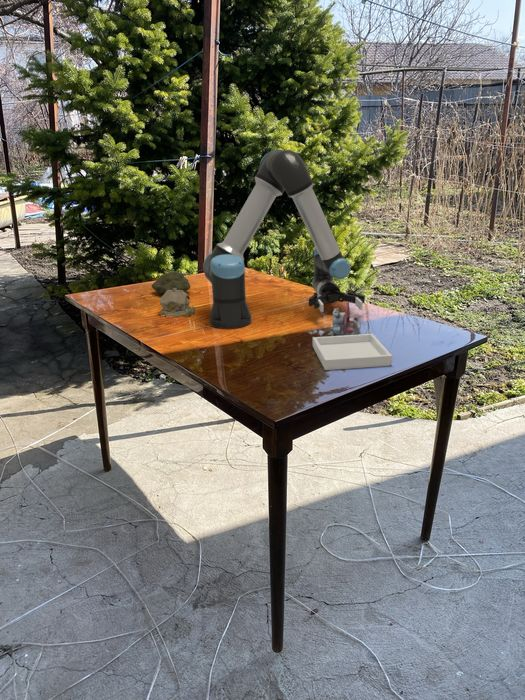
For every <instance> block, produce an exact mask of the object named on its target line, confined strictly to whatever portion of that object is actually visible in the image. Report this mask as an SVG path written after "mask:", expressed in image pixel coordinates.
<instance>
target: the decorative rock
mask: <svg viewBox="0 0 525 700" xmlns="http://www.w3.org/2000/svg"><path fill="white" fill-rule="evenodd" d="M151 288H152V289H153V290H154V291H155V292H156V293H158V294H165V292H166V291H167V290H173V288H177V290H183V291H184V292H185V293H186V292H188V291H189V290H190V289H191V284H190V282H189V279H188V278H186V277H185V276H184V274H182V273H181V272H180V271H177V270H173V271H168V272H166V273H163V274H161V275H159V277H158V278H157V279H156V280H155V281H154V282H153V283H152V284H151Z"/></svg>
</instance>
